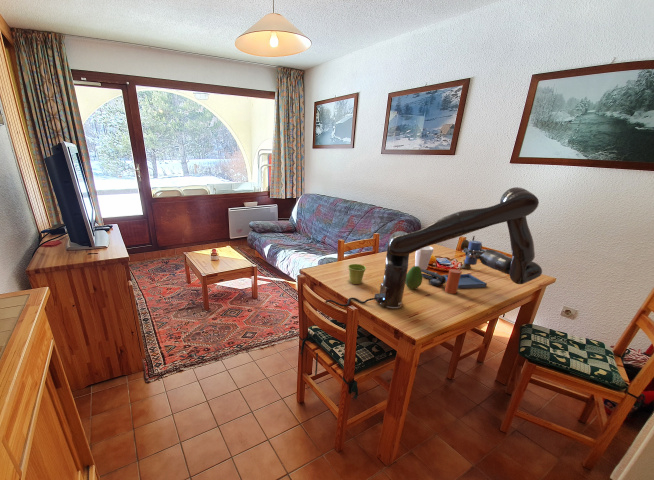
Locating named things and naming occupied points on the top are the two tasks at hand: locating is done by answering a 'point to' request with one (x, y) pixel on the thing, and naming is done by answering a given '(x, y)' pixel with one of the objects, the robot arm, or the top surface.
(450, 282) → the terracotta tin
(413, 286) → the fruit
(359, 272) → the plant pot
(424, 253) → the foam cup
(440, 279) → the can opener
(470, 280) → the blue tray
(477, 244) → the blue tin
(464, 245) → the kendama
